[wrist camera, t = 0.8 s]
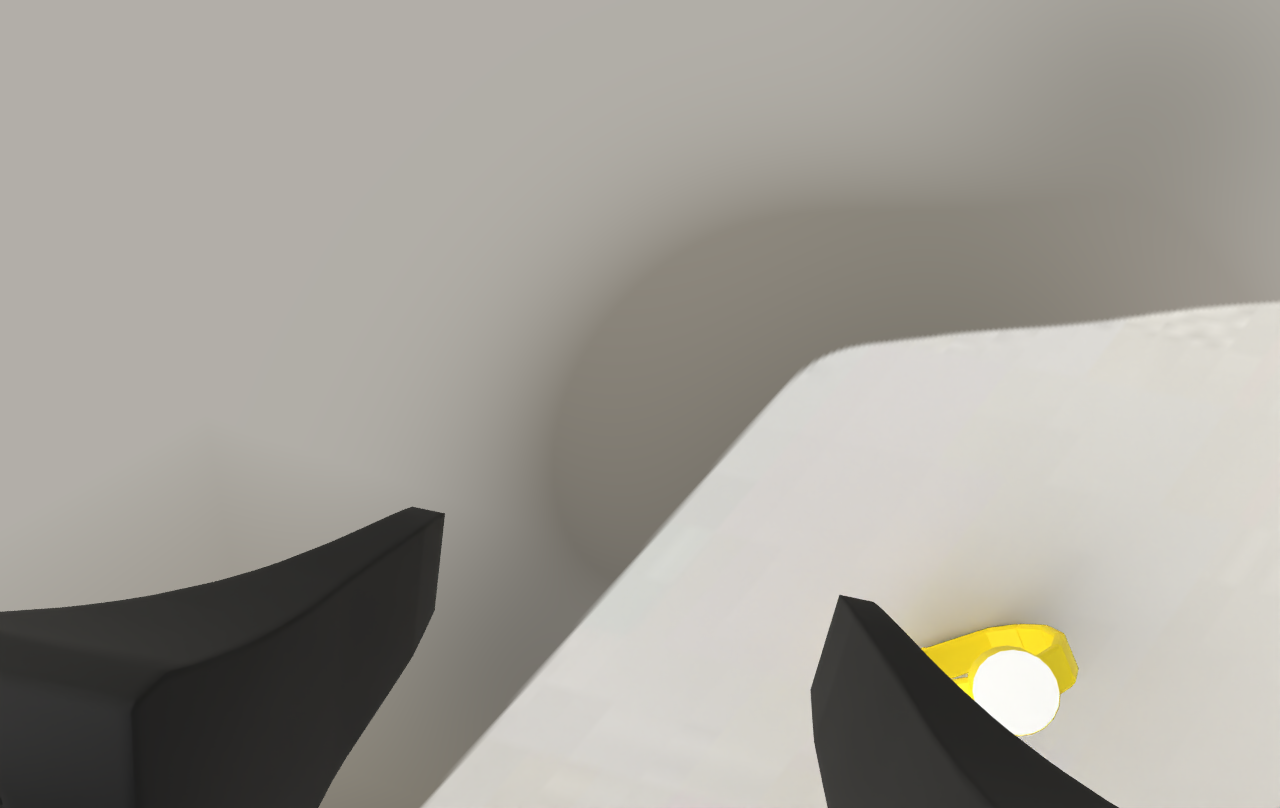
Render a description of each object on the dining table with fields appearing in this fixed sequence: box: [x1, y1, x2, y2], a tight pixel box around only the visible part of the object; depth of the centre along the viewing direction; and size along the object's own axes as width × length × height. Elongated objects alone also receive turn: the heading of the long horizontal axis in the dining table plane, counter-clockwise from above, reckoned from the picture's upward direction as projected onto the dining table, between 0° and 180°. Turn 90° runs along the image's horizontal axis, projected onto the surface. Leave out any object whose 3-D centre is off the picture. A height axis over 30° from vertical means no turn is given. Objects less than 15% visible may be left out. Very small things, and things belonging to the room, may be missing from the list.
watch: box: [921, 624, 1079, 736], centre depth 27 cm, size 6×3×6 cm, turn 108°
